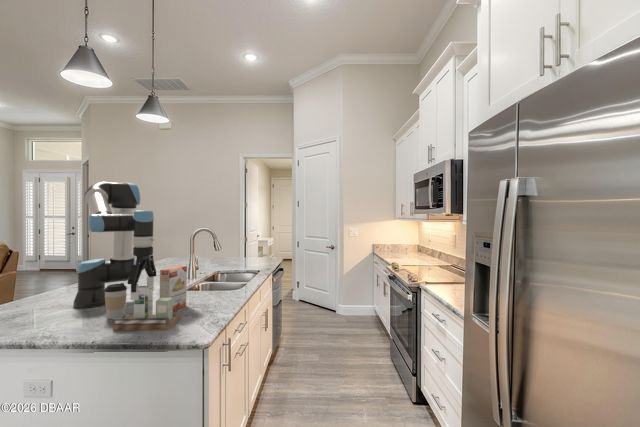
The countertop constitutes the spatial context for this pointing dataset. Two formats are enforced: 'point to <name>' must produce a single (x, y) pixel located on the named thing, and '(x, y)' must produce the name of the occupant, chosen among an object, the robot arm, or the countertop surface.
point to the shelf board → (144, 323)
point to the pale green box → (164, 308)
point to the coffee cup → (115, 300)
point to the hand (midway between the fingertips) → (142, 295)
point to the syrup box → (144, 303)
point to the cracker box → (174, 285)
